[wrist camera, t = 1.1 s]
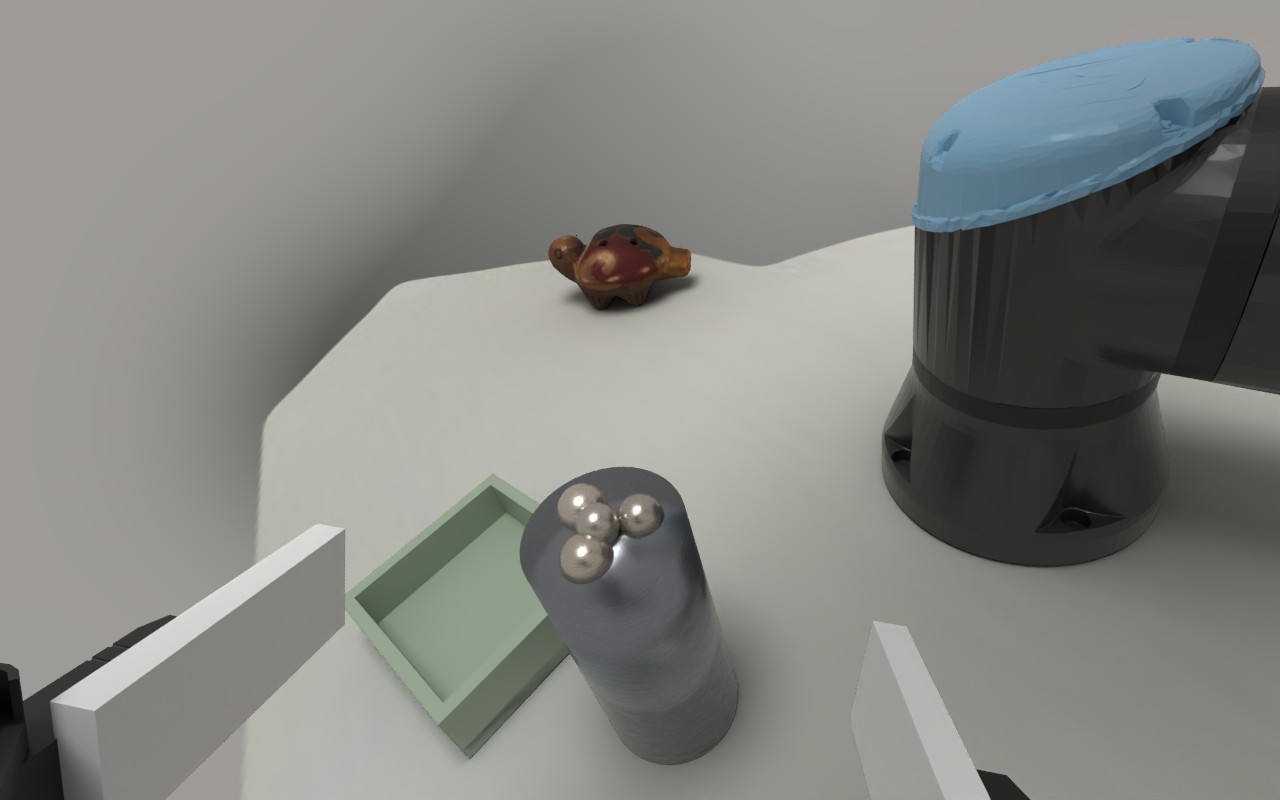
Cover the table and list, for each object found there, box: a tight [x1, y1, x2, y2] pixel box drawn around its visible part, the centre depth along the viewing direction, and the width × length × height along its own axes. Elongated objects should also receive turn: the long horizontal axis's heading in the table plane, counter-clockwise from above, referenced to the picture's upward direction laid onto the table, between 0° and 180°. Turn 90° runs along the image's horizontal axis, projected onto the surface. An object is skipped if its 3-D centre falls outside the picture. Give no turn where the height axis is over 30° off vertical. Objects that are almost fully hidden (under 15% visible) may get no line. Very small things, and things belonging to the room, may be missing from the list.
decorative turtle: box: [549, 224, 691, 309], centre depth 68 cm, size 10×15×8 cm, turn 87°
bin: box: [345, 474, 570, 758], centre depth 40 cm, size 13×13×4 cm
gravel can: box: [519, 467, 738, 765], centre depth 30 cm, size 7×7×16 cm
